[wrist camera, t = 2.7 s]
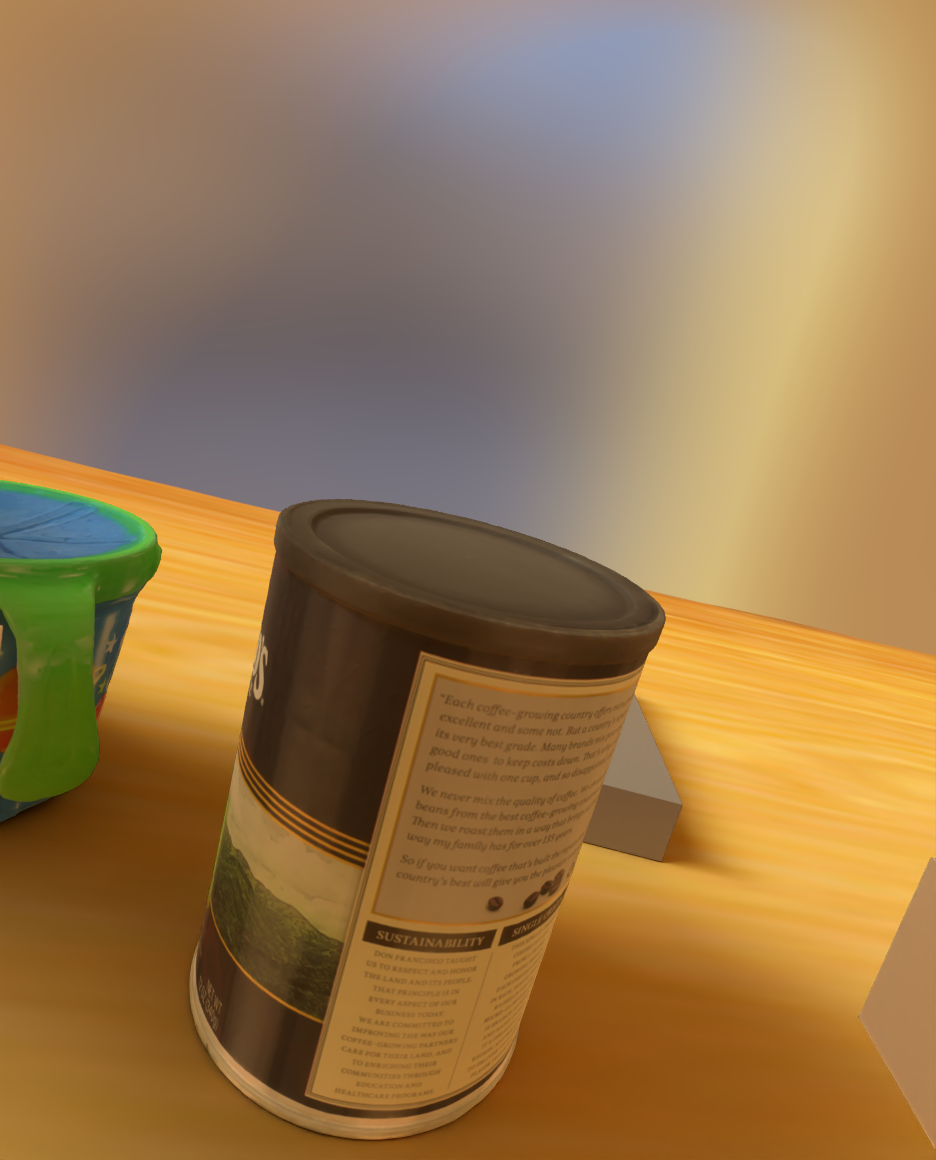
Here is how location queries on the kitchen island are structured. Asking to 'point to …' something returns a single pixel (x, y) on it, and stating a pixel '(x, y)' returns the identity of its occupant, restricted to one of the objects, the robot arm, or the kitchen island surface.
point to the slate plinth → (635, 795)
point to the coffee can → (406, 809)
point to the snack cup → (61, 631)
